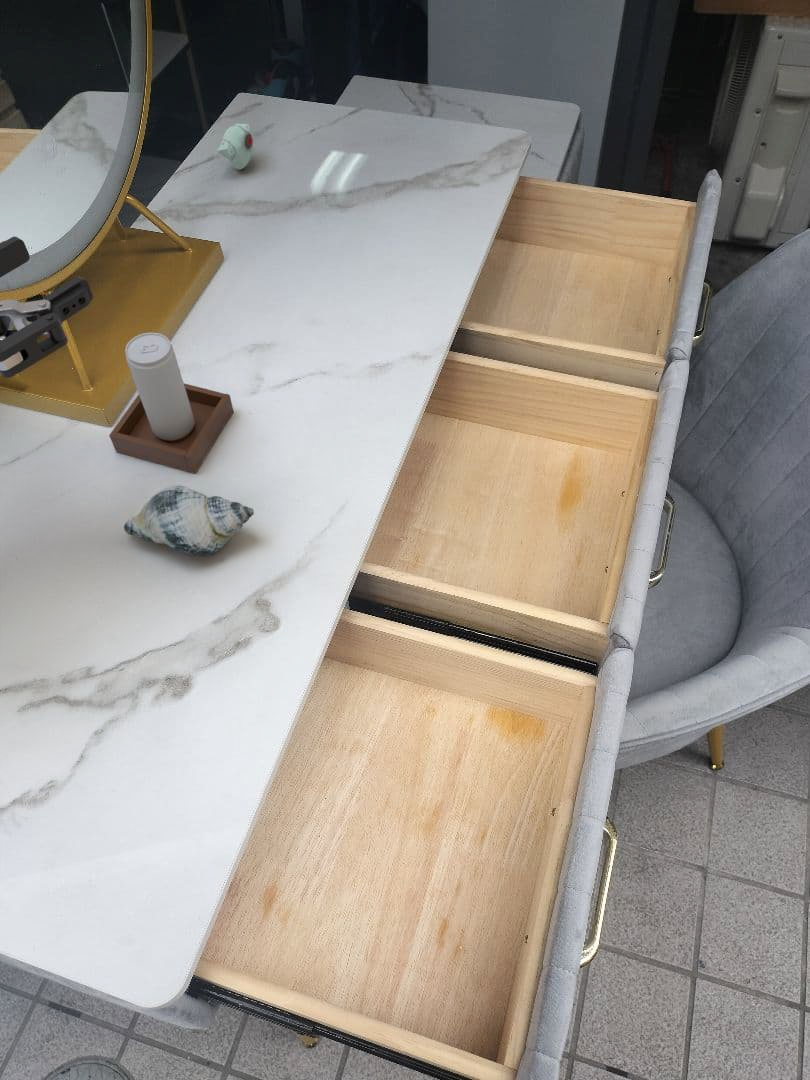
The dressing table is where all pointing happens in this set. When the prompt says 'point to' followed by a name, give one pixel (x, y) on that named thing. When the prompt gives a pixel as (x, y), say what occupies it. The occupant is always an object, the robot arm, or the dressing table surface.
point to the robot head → (237, 145)
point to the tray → (181, 454)
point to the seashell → (188, 520)
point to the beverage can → (160, 386)
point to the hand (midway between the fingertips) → (55, 266)
